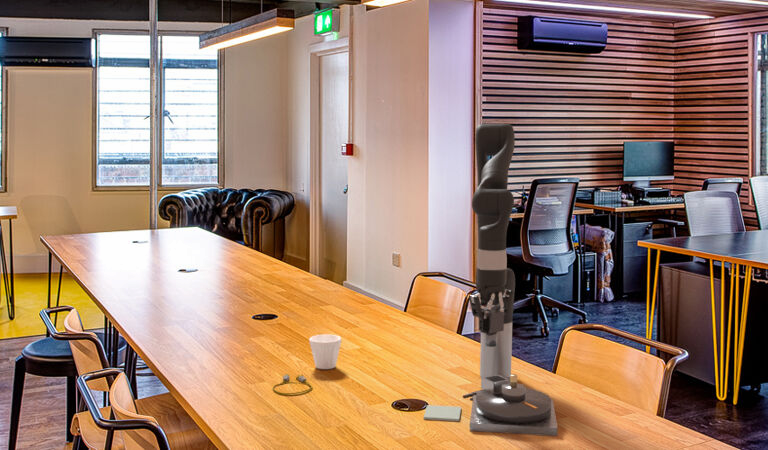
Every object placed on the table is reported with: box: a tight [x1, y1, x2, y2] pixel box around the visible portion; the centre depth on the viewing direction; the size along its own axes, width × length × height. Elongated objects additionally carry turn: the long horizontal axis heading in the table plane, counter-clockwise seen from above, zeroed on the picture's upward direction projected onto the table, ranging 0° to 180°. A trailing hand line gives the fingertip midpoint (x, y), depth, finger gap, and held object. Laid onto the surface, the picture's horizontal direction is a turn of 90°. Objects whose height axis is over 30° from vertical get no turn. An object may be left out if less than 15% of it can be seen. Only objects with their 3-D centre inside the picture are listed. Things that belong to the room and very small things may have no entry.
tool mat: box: [423, 404, 462, 422], centre depth 203 cm, size 9×9×1 cm
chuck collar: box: [476, 373, 552, 423], centre depth 200 cm, size 20×19×9 cm
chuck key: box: [483, 309, 504, 347], centre depth 203 cm, size 4×4×9 cm
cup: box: [308, 333, 342, 371], centre depth 243 cm, size 10×10×9 cm
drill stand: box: [469, 395, 559, 437], centre depth 200 cm, size 21×21×2 cm
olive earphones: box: [272, 373, 314, 397], centre depth 225 cm, size 12×16×2 cm
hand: (490, 330), depth 204 cm, fingers closed on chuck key, 4 cm apart
